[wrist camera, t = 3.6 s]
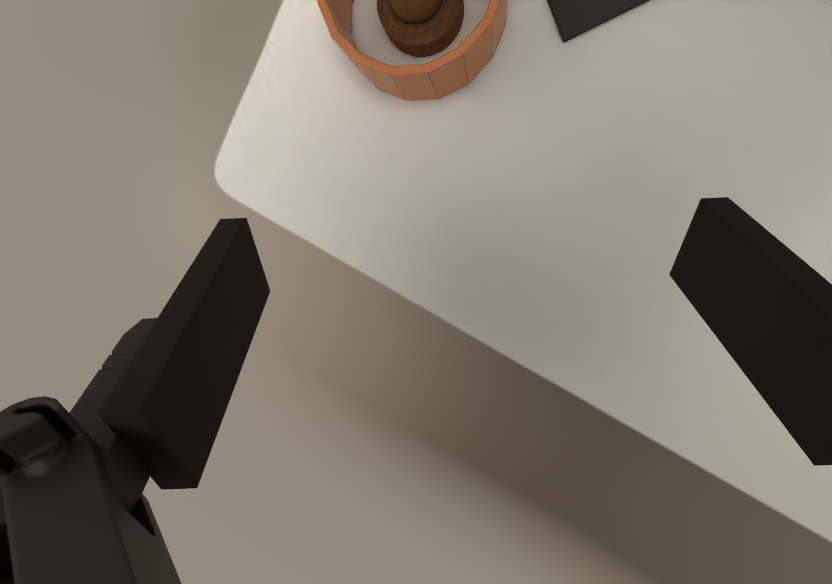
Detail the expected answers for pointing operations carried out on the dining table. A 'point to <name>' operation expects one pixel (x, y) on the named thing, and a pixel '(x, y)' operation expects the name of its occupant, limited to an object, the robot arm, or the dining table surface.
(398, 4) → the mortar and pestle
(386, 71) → the copper pot
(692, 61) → the dining table surface
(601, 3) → the rubber mat
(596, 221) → the dining table surface
